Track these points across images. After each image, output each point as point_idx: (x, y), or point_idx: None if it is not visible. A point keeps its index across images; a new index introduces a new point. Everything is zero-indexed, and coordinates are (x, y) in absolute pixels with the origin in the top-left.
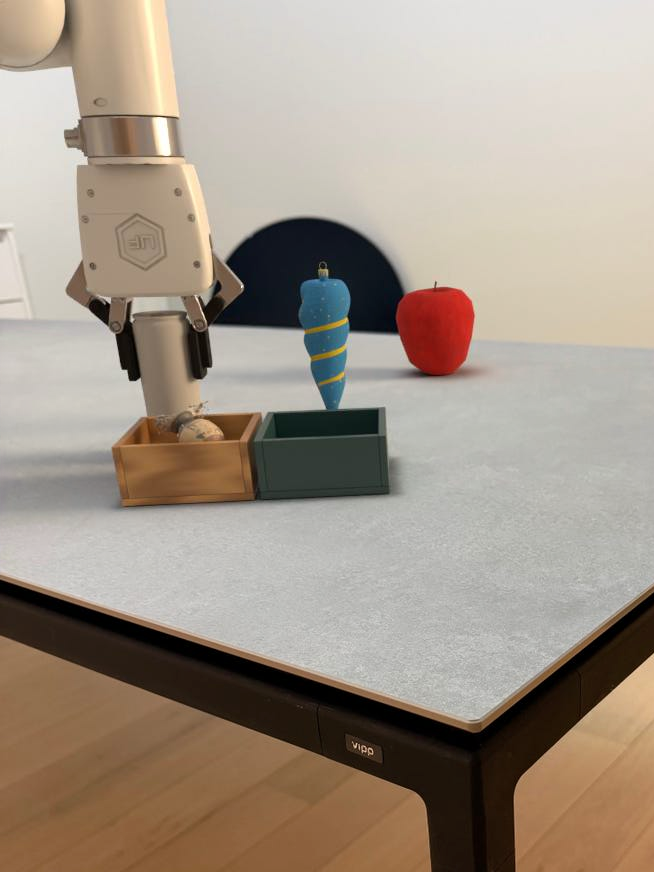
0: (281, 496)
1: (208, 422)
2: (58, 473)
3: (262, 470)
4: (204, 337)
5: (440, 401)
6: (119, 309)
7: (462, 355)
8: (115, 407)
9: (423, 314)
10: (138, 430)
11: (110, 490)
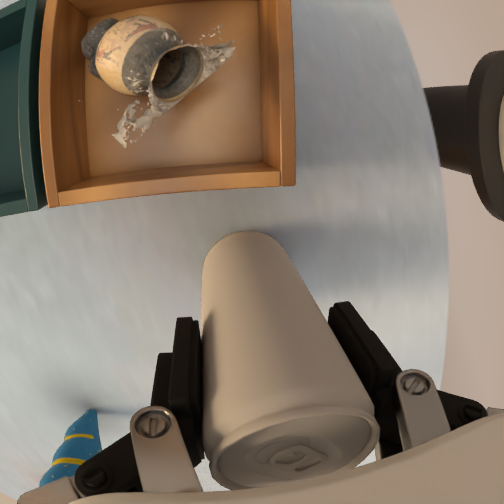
0: None
1: (110, 45)
2: (397, 180)
3: None
4: (154, 403)
5: (22, 430)
6: (422, 422)
7: None
8: None
9: None
10: (277, 87)
11: (307, 73)
